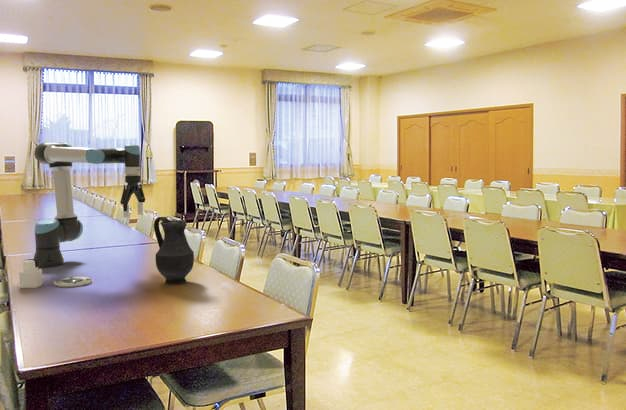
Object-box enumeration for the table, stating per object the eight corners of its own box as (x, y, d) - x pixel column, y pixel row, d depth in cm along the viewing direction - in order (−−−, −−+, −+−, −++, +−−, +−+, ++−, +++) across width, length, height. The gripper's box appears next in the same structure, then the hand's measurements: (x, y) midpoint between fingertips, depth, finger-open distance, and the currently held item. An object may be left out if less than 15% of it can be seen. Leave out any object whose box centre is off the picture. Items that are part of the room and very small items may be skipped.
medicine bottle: (26, 284, 262) (25, 258, 261) (42, 284, 263) (41, 258, 262) (19, 288, 255) (18, 261, 254) (36, 288, 256) (35, 261, 255)
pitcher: (175, 288, 256) (173, 220, 253) (142, 282, 267) (140, 217, 264) (202, 281, 271) (201, 217, 268) (170, 275, 282) (168, 214, 279)
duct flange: (46, 286, 259) (45, 282, 259) (69, 278, 275) (69, 275, 275) (76, 288, 255) (76, 284, 255) (99, 280, 271) (99, 277, 271)
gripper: (126, 176, 286) (126, 218, 288) (151, 174, 310) (152, 213, 312) (112, 175, 288) (113, 218, 290) (138, 173, 312) (139, 213, 314)
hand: (133, 216), depth 301 cm, fingers open, 13 cm apart
